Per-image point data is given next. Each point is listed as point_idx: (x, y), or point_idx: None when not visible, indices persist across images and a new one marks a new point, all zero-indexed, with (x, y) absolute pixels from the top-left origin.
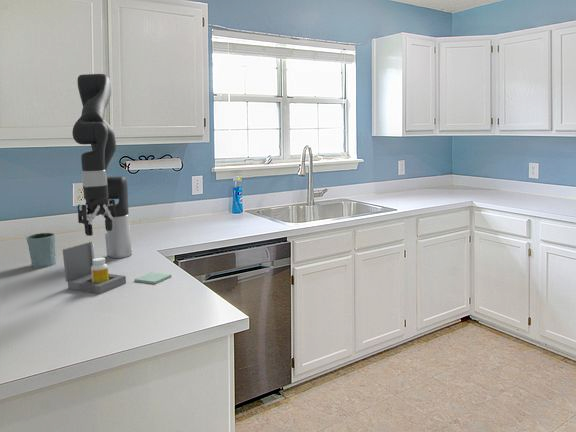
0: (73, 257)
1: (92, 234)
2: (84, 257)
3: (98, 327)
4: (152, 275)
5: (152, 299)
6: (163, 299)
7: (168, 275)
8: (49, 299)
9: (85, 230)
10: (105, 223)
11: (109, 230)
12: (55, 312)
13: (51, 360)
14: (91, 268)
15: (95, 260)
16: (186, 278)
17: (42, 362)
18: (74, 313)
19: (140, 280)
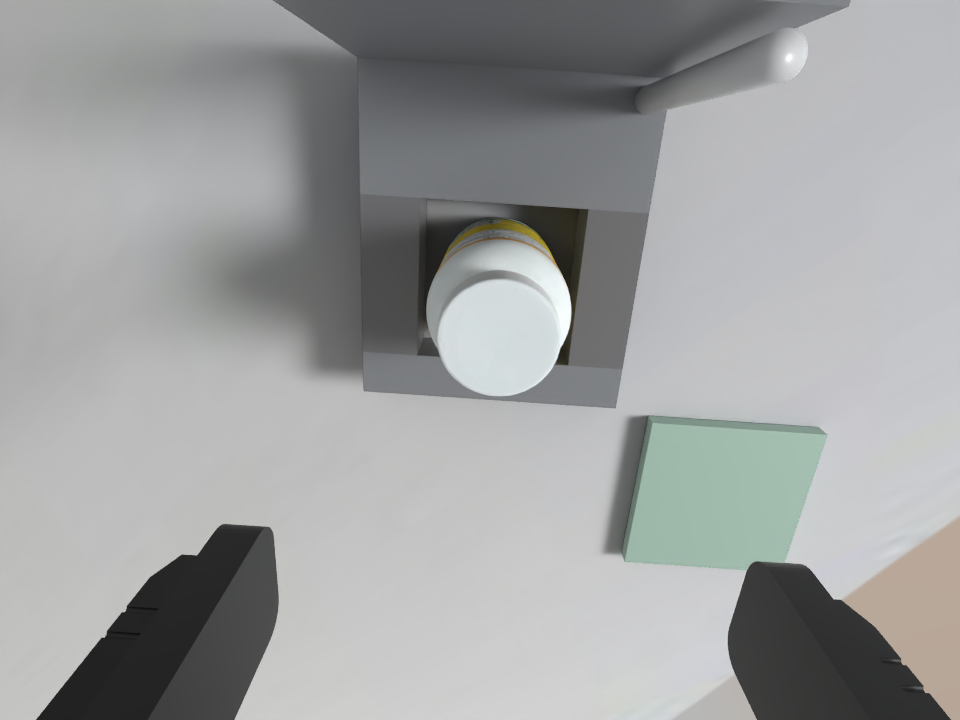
0: (420, 18)
1: (263, 636)
2: (597, 38)
3: (54, 634)
4: (748, 483)
5: (404, 650)
6: (421, 687)
7: None
8: (150, 120)
9: (119, 633)
10: (846, 695)
11: (731, 633)
12: (40, 347)
13: None
14: (432, 282)
15: (443, 346)
16: None
17: None
18: (90, 449)
19: (642, 466)
